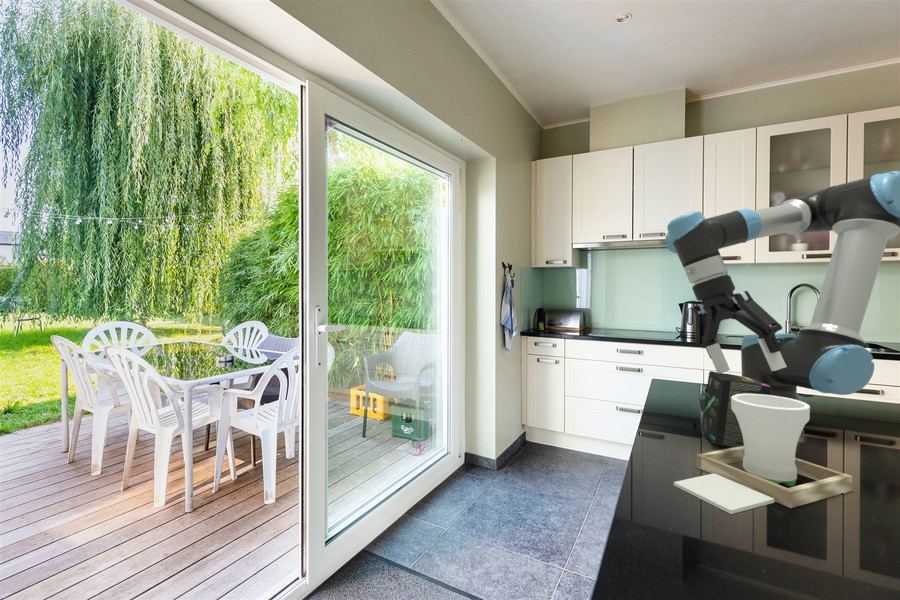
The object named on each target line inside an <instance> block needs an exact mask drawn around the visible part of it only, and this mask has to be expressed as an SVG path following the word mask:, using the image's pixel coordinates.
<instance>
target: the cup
mask: <svg viewBox="0 0 900 600" xmlns="http://www.w3.org/2000/svg"><path fill="white" fill-rule="evenodd" d="M799 400H800V399H799ZM799 400H795V399H791V398H786V397H780V396H773V395H765V394H736V395H733V396H732V397H731V409H732V411H733V412H734V413H735V415H736V418H737V420H738V422H739V425H740V429H741V432H742V435H743V441H744V453H745V455H744V457H743V461H742V468H743V469H744V471H745V472H748V473H750V474H753V475H755V476H758V477H760V478H763V479H765V480H768V481H771V482H773V483H776V484H778V485H780V483H781V484H783V485H785V486H787V487H795V486H796V483H797V479H798V474H797V467H796V465H795V458H796V452H797V448H798V447H797V445H798V441H799V439H800V437H801V434H802V432H803V429H804V428H805V425H806V424H807V423H808V422H809V421H810V416H811V414H810V413H811V406H810V404H808V403H807V402H804V401H802V400H800V401H799Z"/></svg>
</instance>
